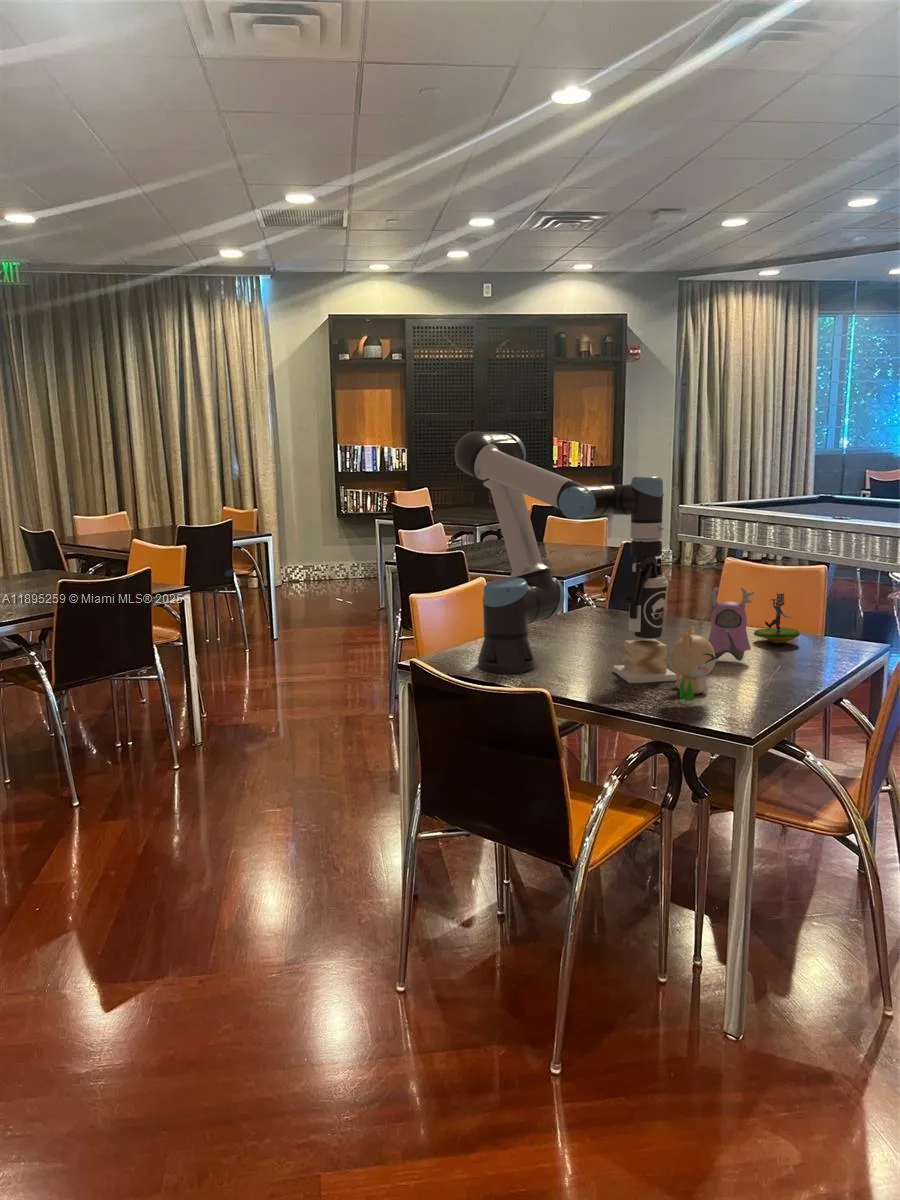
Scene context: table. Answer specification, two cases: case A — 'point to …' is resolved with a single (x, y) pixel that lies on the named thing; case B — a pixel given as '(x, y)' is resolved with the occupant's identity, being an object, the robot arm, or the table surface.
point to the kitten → (692, 663)
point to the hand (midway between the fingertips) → (644, 627)
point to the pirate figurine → (778, 632)
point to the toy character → (729, 626)
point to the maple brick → (645, 656)
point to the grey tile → (643, 676)
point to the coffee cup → (652, 607)
